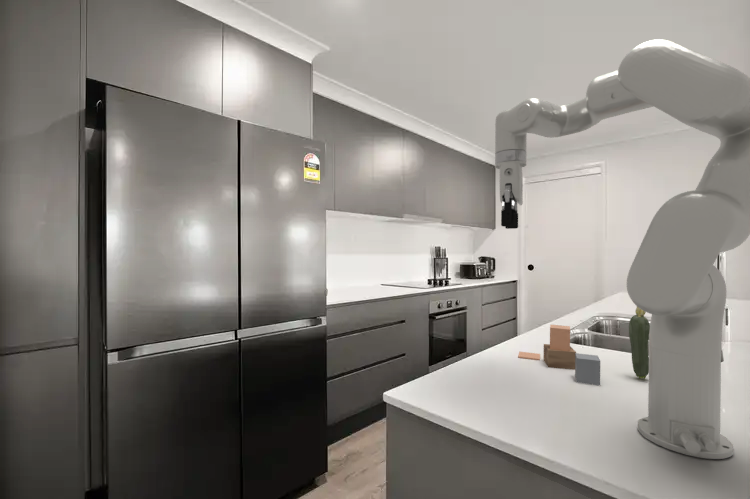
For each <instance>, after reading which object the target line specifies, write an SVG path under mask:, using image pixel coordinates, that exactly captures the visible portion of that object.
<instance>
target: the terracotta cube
mask: <svg viewBox="0 0 750 499" xmlns="http://www.w3.org/2000/svg"><path fill="white" fill-rule="evenodd" d="M549 344H550V349H555V350H563V351H570V347H571V326H570V325H569V326H568V325H558V324H550V326H549Z"/></svg>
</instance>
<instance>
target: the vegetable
mask: <svg viewBox="0 0 750 499" xmlns="http://www.w3.org/2000/svg"><path fill="white" fill-rule="evenodd" d="M646 313H647V312H645V311H643V310H641V309H640V308H639V307H637V306H636V308H635V315H633V316H631V318H629V322H628V323H629V324H628V337H629V342H630V350H631V364H632V368H633V372H634V374H635V376H636V377H637V378H638V379H646V378H647V376H649V331H650V321H649V319H648V318H647V317H646V316H645V315H646Z"/></svg>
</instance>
